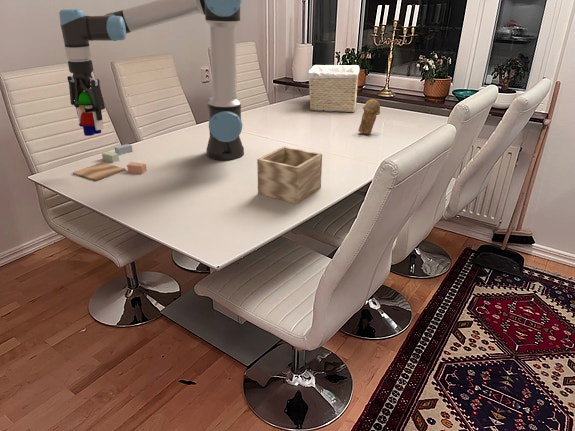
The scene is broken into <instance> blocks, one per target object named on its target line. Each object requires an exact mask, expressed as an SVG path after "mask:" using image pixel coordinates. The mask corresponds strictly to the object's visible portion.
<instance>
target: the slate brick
mask: <svg viewBox="0 0 575 431" xmlns="http://www.w3.org/2000/svg"><path fill="white" fill-rule="evenodd" d="M133 152H134V151H133V146H132V144H129V143H125V144H122V145H118V146H114V153H117V154H118V155H119V156H123V155H125V154H126V153H127V154H130V153H133ZM122 154H123V155H122Z"/></svg>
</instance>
